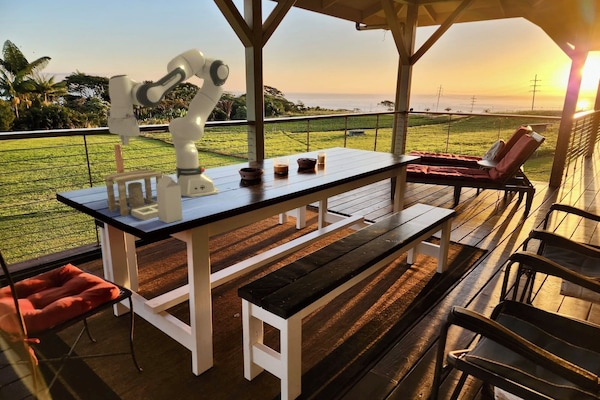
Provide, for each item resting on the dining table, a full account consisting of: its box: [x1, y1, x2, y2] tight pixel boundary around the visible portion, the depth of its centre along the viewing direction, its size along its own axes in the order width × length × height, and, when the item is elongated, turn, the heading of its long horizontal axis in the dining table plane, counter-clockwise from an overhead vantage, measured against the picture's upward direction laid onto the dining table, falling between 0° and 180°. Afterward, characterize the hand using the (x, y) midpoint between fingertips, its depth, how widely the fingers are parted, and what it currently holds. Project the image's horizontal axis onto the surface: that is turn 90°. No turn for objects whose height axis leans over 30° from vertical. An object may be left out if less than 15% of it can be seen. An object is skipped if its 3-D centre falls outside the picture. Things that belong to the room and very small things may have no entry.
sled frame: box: [106, 144, 157, 216], centre depth 175 cm, size 20×14×28 cm
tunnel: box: [104, 168, 164, 217], centre depth 175 cm, size 13×20×16 cm, turn 142°
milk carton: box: [155, 174, 183, 224], centre depth 161 cm, size 7×7×19 cm
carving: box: [127, 181, 146, 208], centre depth 176 cm, size 6×8×12 cm
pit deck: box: [131, 204, 159, 221], centre depth 170 cm, size 10×14×2 cm
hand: (125, 145), depth 172 cm, fingers closed
